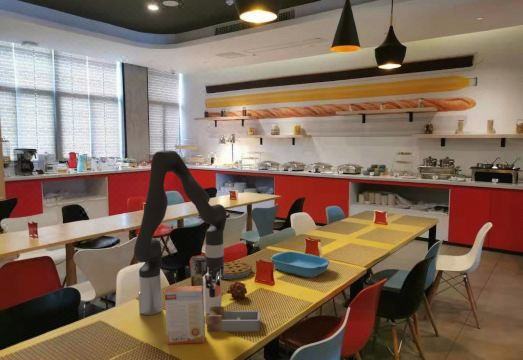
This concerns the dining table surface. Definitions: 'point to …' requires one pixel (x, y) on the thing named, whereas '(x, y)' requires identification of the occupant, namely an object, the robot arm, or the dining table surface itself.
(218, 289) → the ball
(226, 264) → the pie
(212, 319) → the ramp
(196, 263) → the coffee box
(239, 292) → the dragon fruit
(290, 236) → the dining table surface
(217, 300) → the milk carton
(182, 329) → the cracker box
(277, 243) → the dining table surface
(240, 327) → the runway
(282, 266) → the casserole dish
